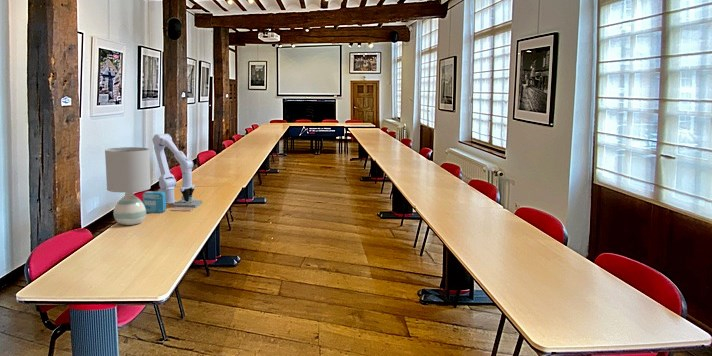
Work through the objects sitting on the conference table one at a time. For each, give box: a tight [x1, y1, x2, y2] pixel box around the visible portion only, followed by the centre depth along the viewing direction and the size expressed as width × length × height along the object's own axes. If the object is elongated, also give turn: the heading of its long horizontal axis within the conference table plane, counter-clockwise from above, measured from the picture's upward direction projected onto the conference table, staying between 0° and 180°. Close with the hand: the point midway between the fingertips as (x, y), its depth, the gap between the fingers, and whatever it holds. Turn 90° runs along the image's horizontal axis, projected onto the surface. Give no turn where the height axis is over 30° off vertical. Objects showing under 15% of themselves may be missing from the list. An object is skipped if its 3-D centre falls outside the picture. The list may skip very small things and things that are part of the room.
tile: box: [170, 207, 196, 212], centre depth 329 cm, size 12×8×1 cm, turn 88°
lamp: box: [104, 146, 151, 226], centre depth 291 cm, size 22×22×40 cm
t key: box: [181, 195, 195, 203], centre depth 341 cm, size 7×3×6 cm, turn 78°
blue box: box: [142, 190, 167, 214], centre depth 321 cm, size 12×4×12 cm, turn 88°
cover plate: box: [172, 199, 203, 209], centre depth 341 cm, size 14×14×2 cm
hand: (187, 200), depth 341 cm, fingers closed on t key, 3 cm apart
